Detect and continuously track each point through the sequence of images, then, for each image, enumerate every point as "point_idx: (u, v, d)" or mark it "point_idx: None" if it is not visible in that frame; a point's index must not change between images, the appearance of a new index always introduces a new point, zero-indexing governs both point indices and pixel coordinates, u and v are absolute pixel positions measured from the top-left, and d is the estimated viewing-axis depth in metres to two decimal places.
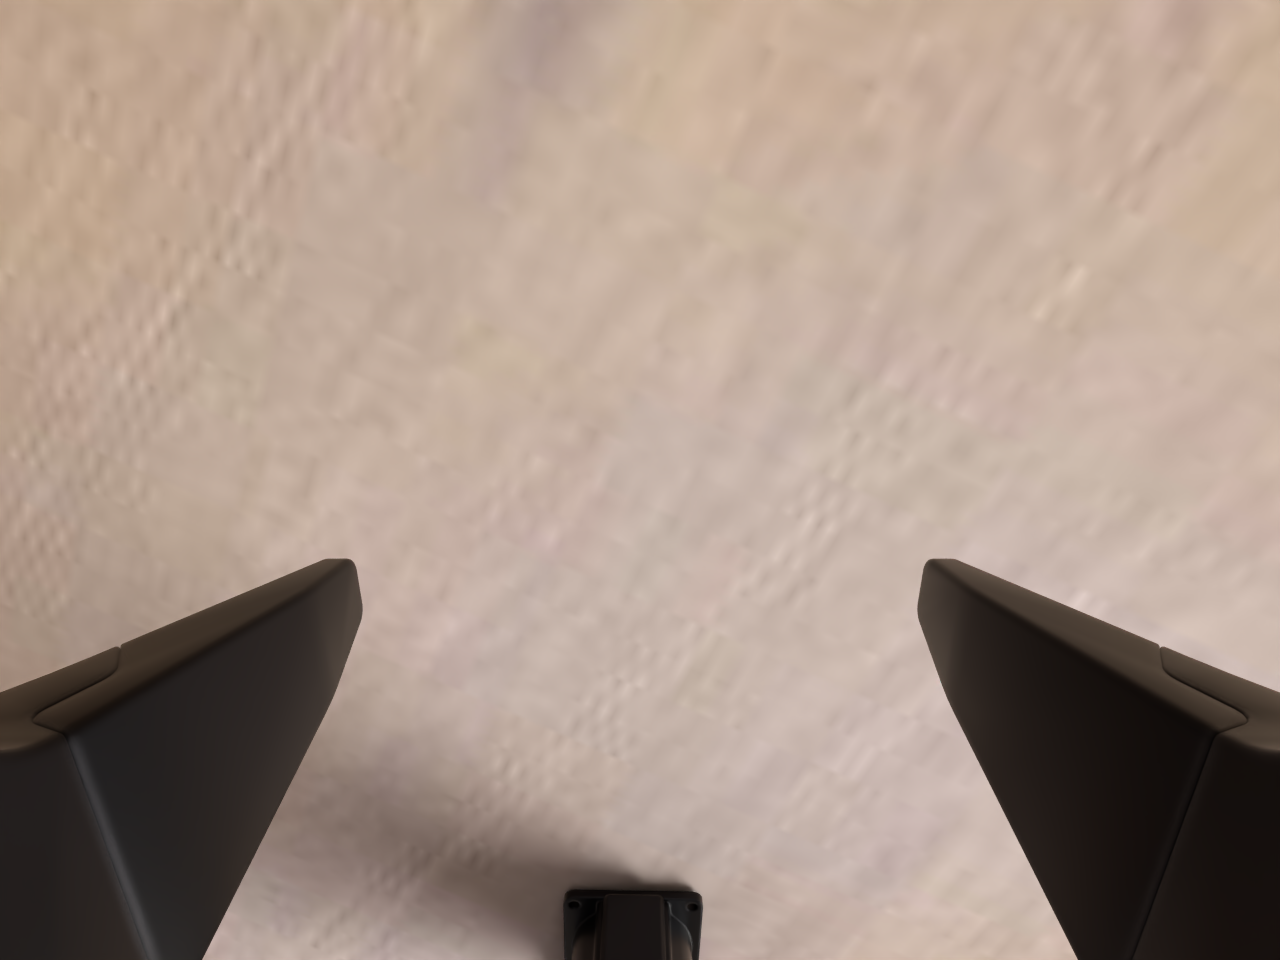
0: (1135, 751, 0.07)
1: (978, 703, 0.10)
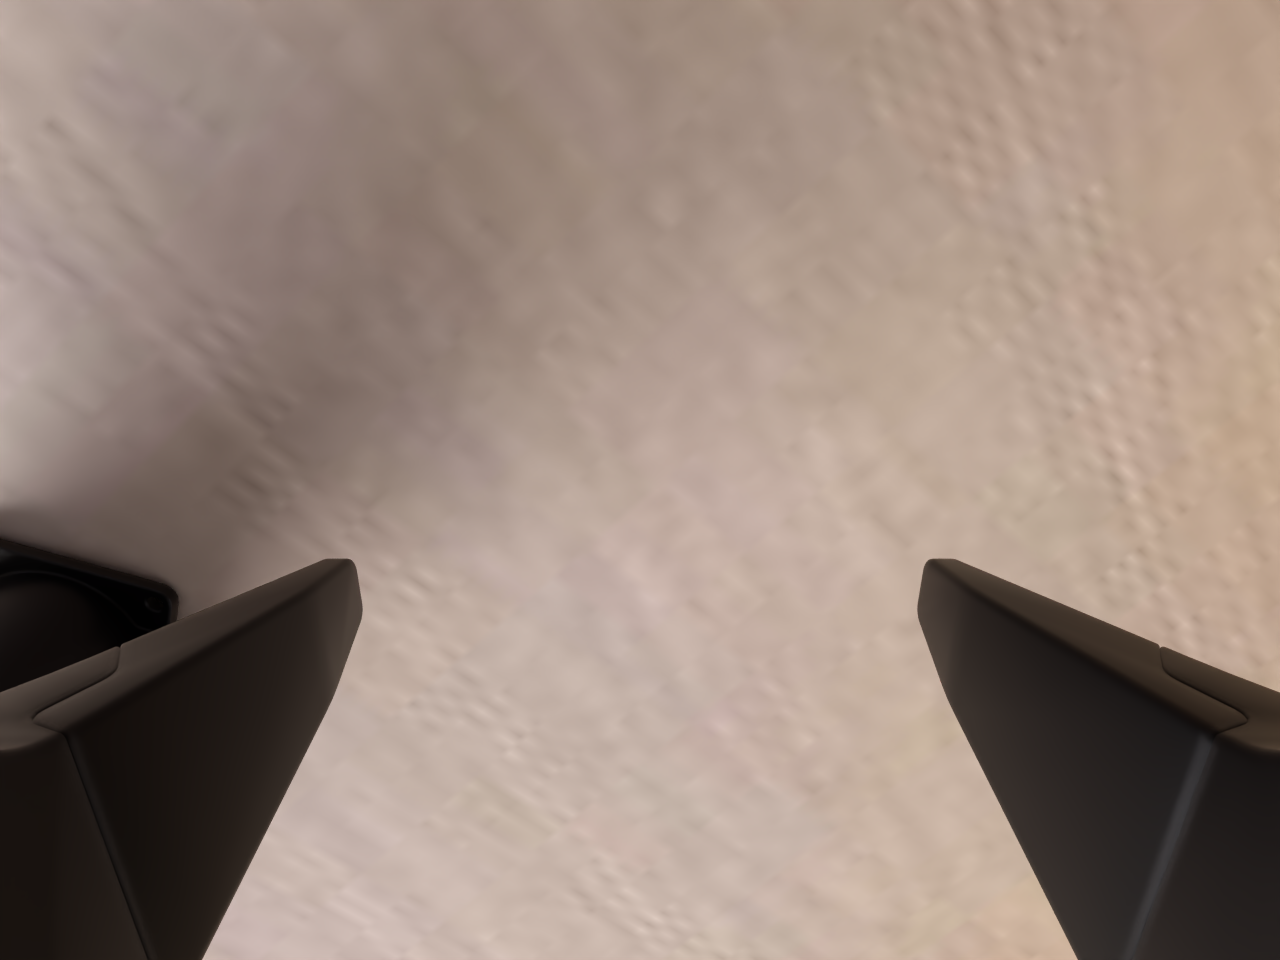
0: (1134, 751, 0.07)
1: (978, 703, 0.10)
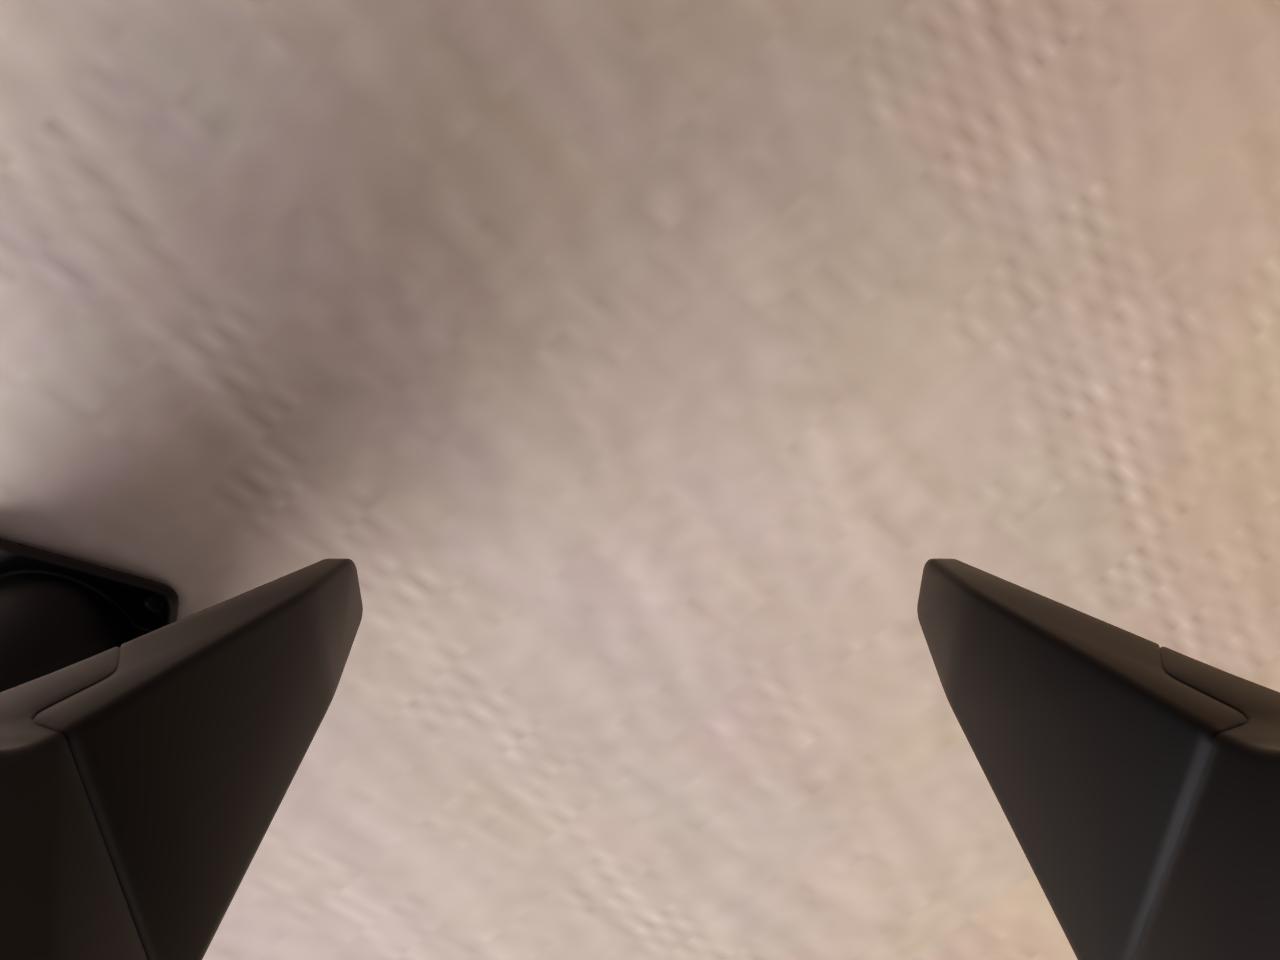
0: (1134, 751, 0.07)
1: (978, 703, 0.10)
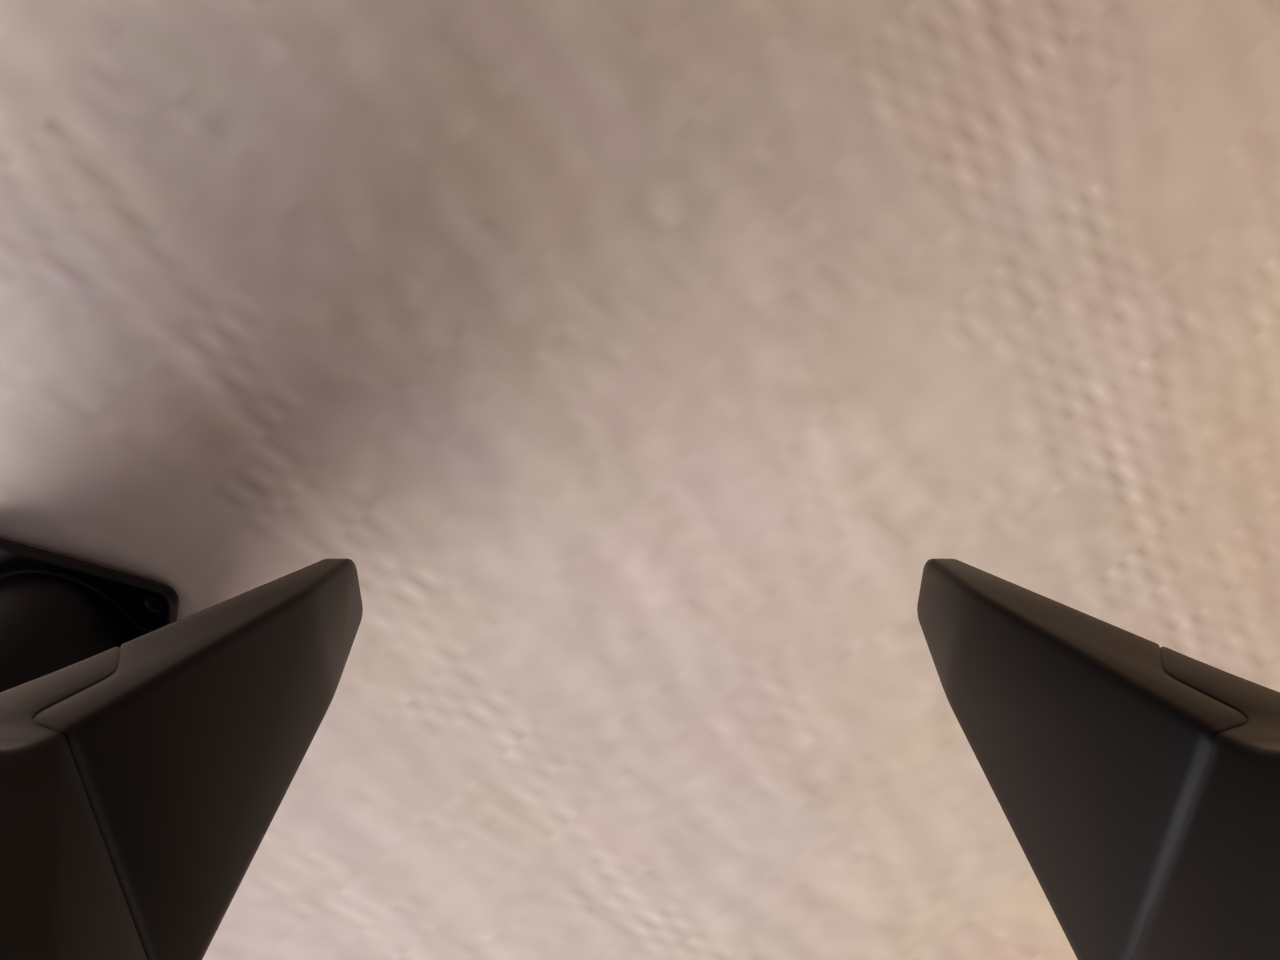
0: (1134, 751, 0.07)
1: (978, 703, 0.10)
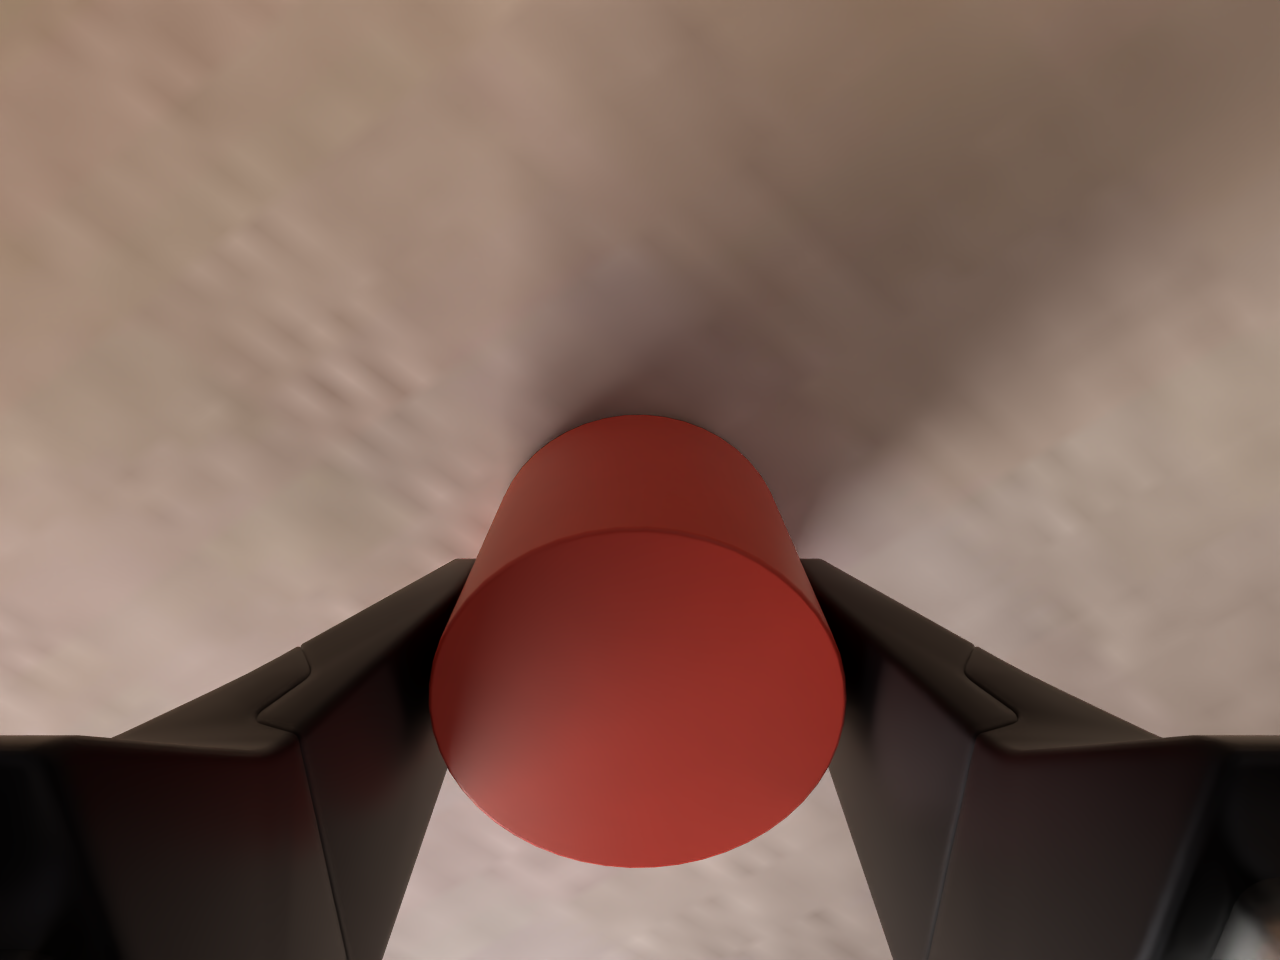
0: (924, 751, 0.07)
1: None
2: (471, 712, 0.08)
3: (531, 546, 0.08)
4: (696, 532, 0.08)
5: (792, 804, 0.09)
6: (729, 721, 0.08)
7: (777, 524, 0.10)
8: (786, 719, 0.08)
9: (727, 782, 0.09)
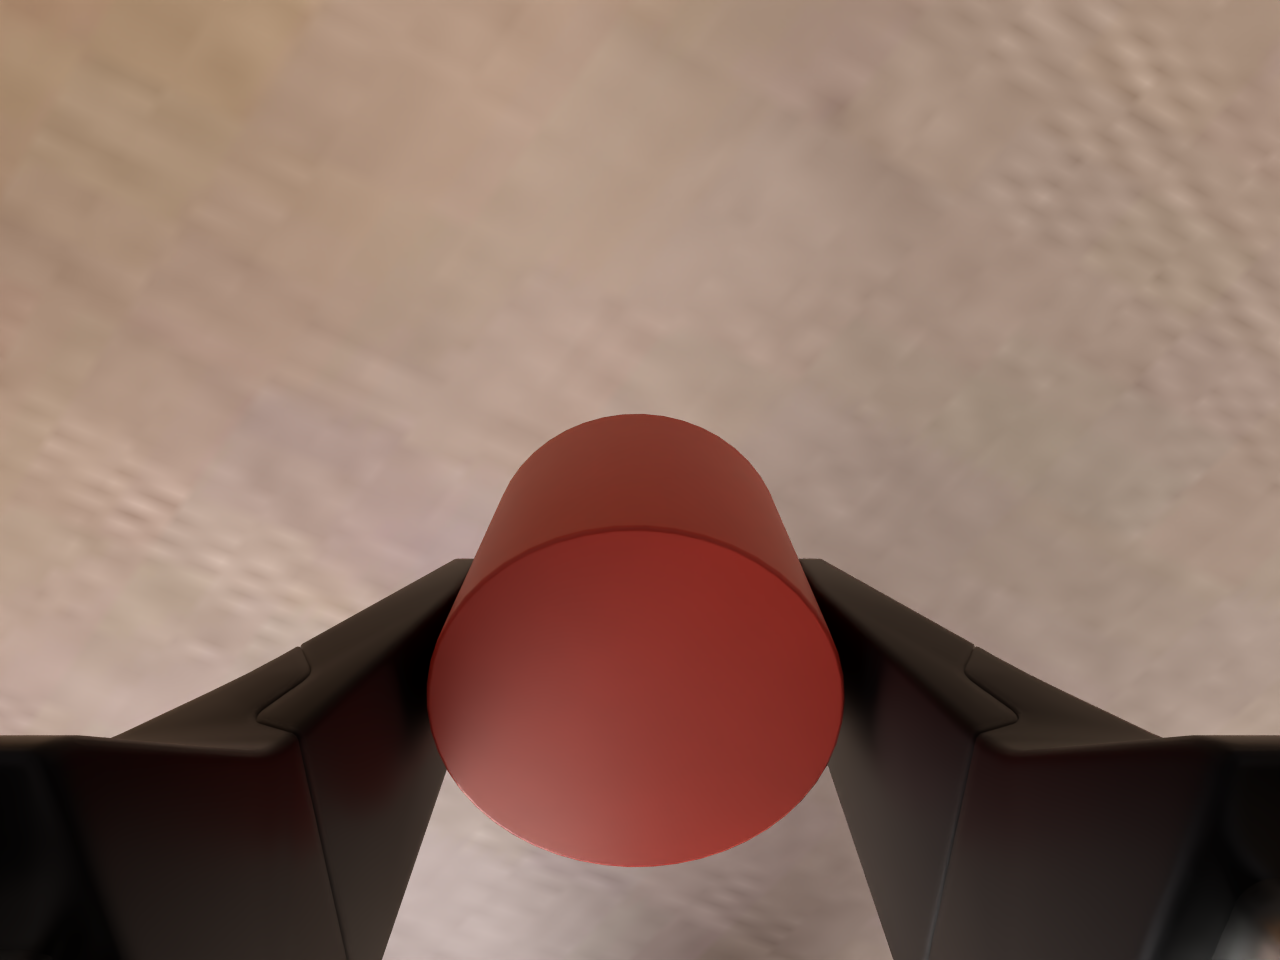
0: (925, 751, 0.07)
1: None
2: (469, 711, 0.08)
3: (529, 546, 0.08)
4: (695, 531, 0.08)
5: (790, 805, 0.09)
6: (728, 720, 0.08)
7: (775, 523, 0.10)
8: (784, 718, 0.08)
9: (725, 781, 0.09)
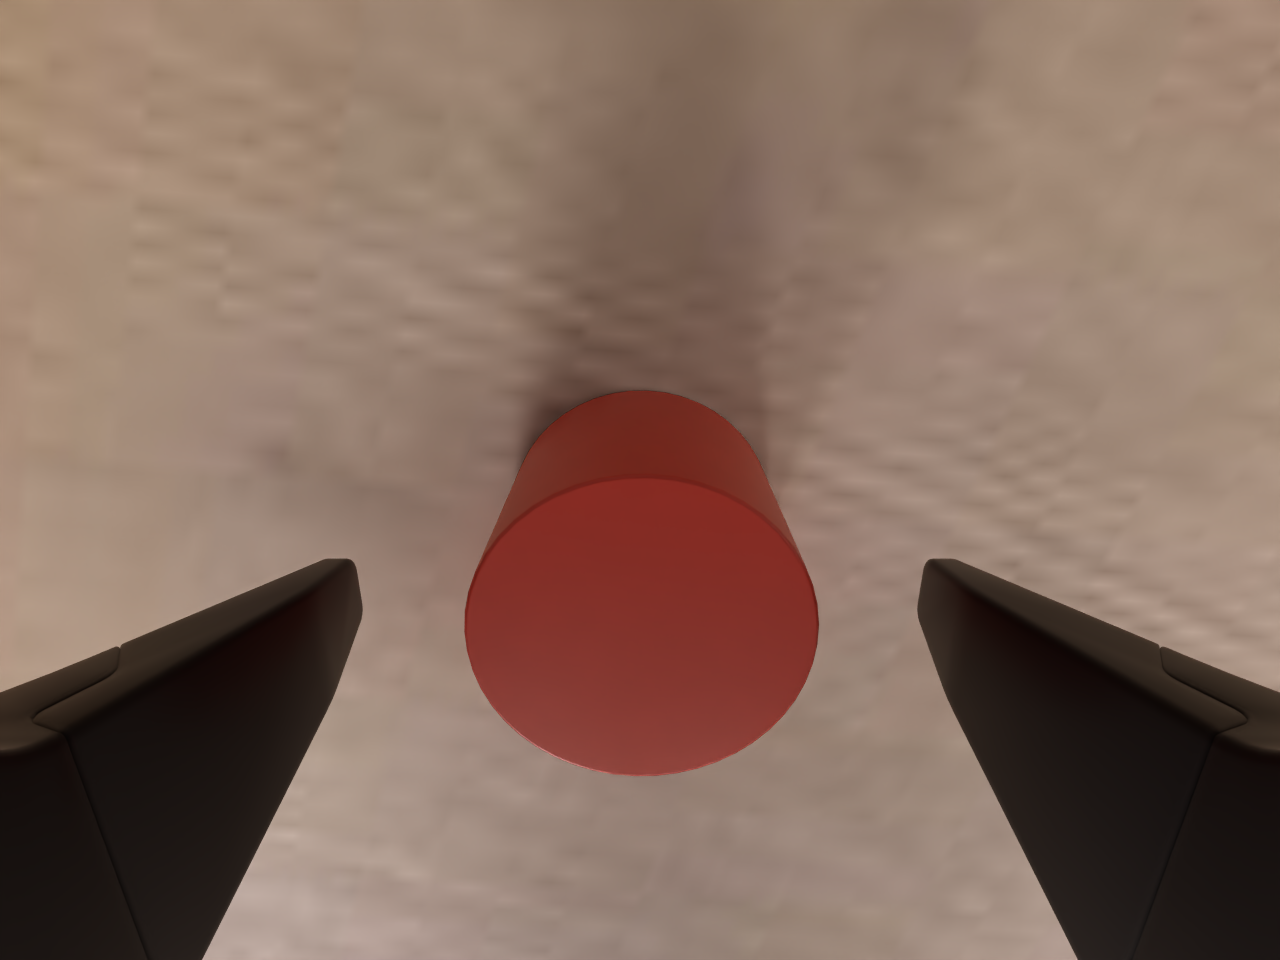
0: (1134, 751, 0.07)
1: (978, 703, 0.10)
2: (500, 635, 0.10)
3: (553, 491, 0.09)
4: (691, 479, 0.09)
5: (774, 721, 0.11)
6: (719, 644, 0.10)
7: (762, 481, 0.11)
8: (768, 642, 0.10)
9: (718, 698, 0.10)
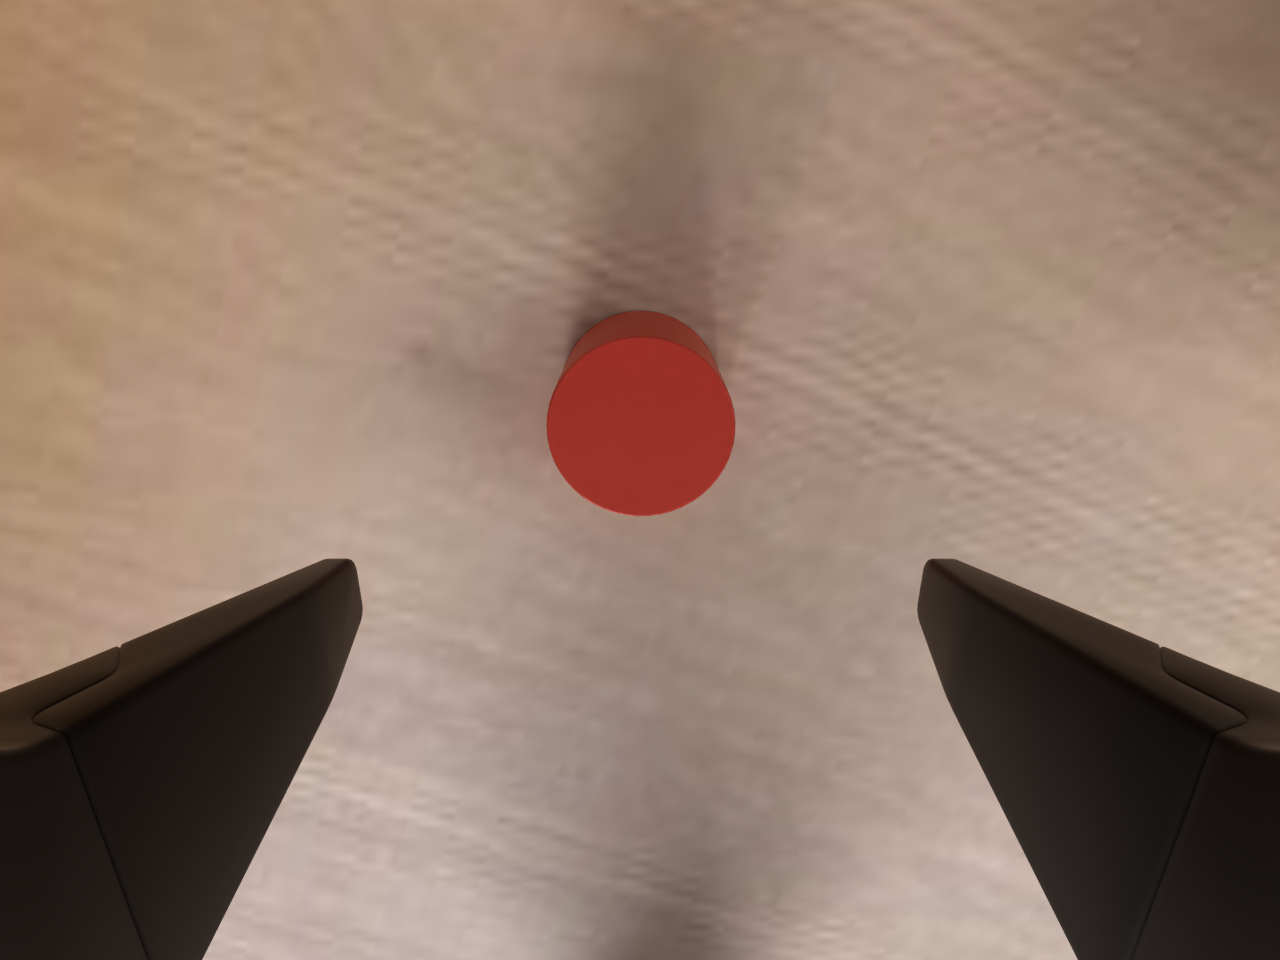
0: (1134, 751, 0.07)
1: (978, 703, 0.10)
2: (566, 428, 0.19)
3: (595, 346, 0.18)
4: (666, 339, 0.18)
5: (713, 482, 0.19)
6: (682, 433, 0.19)
7: (708, 354, 0.20)
8: (708, 432, 0.19)
9: (682, 466, 0.19)
